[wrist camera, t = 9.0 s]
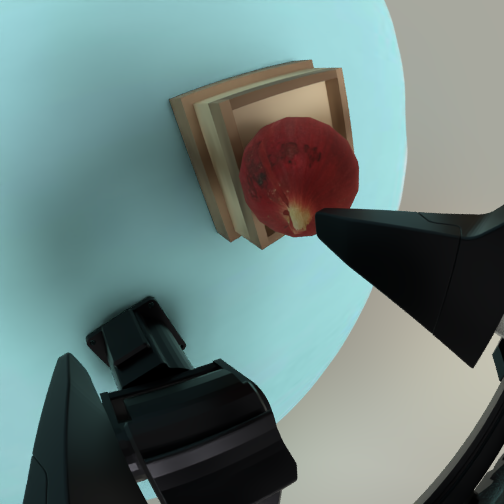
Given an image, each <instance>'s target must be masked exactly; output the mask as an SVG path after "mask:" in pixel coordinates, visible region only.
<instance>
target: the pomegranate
mask: <svg viewBox="0 0 504 504" xmlns="http://www.w3.org/2000/svg"><path fill="white" fill-rule="evenodd" d="M239 179H240V182H241V186H242V190H243V194H244V198H245V202H246V203H247V205H248V206H249V208H250V209H251V210H252V212H253V213H254V215H255V216H256V217H257V219H258V220H259V221H260V222H261V223H263V224H264V225H266V226H268V227H269V228H271V229H272V230H274V231H275V232H278V233H282V234H285V235H288V236H291V237H303V236H313V235H315V234H316V226H315V213H316V212H318V211H319V210H321V209H323V208H347V209H350V207H351V205H352V203H353V201H354V198H355V196H356V194H357V192H358V187H359V165H358V161H357V159H356V157H355V154H354V152H353V150H352V148H351V146H350V144H349V142H348V141H347V140H346V139H345V138H344V137H343V136H341V135H340V134H339V133H338V132H337V131H336V130H334V129H333V128H332V127H331V126H330V125H328V124H326V123H323V122H321V121H318V120H316V119H313V118H311V117H285V118H283V119H280V120H278V121H275V122H273V123H271V124H268V125H266V126H264V127H262V128H261V129H260V130H259V131H258V132H257V133H256V135H255V136H254V137H253V138H252V140H251V141H250V142H249V143H248V144H247V146H246V147H245V149H244V153H243V157H242V162H241V168H240V173H239Z"/></svg>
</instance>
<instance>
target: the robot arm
mask: <svg viewBox="0 0 504 504" xmlns="http://www.w3.org/2000/svg"><path fill="white" fill-rule="evenodd" d="M315 226H316V234H317V236H318V238H319V239H320V240H321V241H322V242H323V243H324V244H325V245H326V246H327V247H328V248H330V249H331V250H332V251H333V252H334V253H335V254H336V255H337V256H338V257H339V258H340V259H341V260H342V261H343V262H344V263H346V264H347V265H348V266H349V267H350V268H351V269H353V270H354V271H355V272H357V273H358V274H359V275H360V276H362V277H363V278H364V279H366V280H367V281H368V282H369V283H371V284H372V285H373V286H374V287H376V288H377V289H378V290H380V291H381V292H382V293H383V294H385V295H386V296H387V297H388V298H389V299H391V300H392V301H393V302H394V303H396V304H397V305H398V306H399V307H400V308H402V309H403V310H404V311H405V312H407V313H408V314H409V315H410V316H412V317H413V318H414V319H415V320H416V321H417V322H419V323H420V324H421V325H422V326H423V327H425V328H426V329H427V330H428V331H429V332H431V333H433V335H434V336H435V337H436V338H437V339H439V340H440V341H441V342H442V343H443V344H444V345H446V346H447V347H448V348H449V349H450V350H451V351H452V352H454V353H455V354H456V355H457V356H458V357H459V358H460V359H462V360H463V361H464V362H465V363H466V364H467V365H468V366H470V367H471V368H474V366H475V365H476V363H477V361H478V360H479V358H480V357H481V355H482V353H483V352H484V350H485V348H486V346H487V345H488V343H489V341H490V339H491V338H492V336H493V334H494V333H496V334H497V335H499V336H501V339H500V341H499V343H498V345H497V347H496V349H495V351H494V353H493V354H492V355H493V359H494V363H495V366H496V370H497V373H498V377H499V381H501V383H500V385H499V387H498V389H497V391H496V393H495V395H494V396H493V398H492V400H491V402H490V403H489V405H488V407H487V409H486V410H485V412H484V413H483V415H482V417H481V418H480V420H479V421H478V423H477V424H476V426H475V428H474V429H473V431H472V432H471V434H470V435H469V437H468V438H467V439H466V441H465V442H464V444H463V445H462V446H461V448H460V449H459V451H458V452H457V453H456V455H455V456H454V457H453V459H452V460H451V461H450V462H449V464H448V465H447V466H446V467H445V469H444V470H443V471H442V472H441V474H440V475H439V476H438V477H437V478H436V480H435V481H434V482H433V483H432V484H431V485H430V486H429V488H428V489H427V490H426V491H425V492H424V493H423V494H422V495H421V496H420V497H419V498H418V500H417V501H416V502H415V503H414V504H504V454H503V455H502V456H501V457H500V459H499V460H498V462H497V463H496V465H495V466H494V469H493V470H491V471H489V472H487V470H488V469H489V467H490V466H491V464H492V463H493V461H494V460H495V458H496V456H497V455H498V453H499V451H500V450H501V448H502V446H503V445H504V205H503V206H501V207H499V208H498V209H496V210H494V211H493V212H490V213H487V214H480V215H475V214H441V213H440V214H439V213H424V212H418V213H417V212H408V211H391V210H371V209H347V208H323V209H321V210H319V211H318V212H316V213H315ZM151 302H152V304H151V305H148V304H149V303H151ZM91 340H94V342H90V341H91ZM86 343H87V345H88V347H89V348H90V349H91V350H92V351H93V352H94V353H95V354H96V355H97V356H98V357H99V358H100V359H101V360H102V361H103V362H104V363H106V364H107V365H108V366H109V367H110V368H111V371H112V374H113V377H114V380H115V382H116V385H117V388H118V391H114V392H110V393H108V392H104V393H100V396H101V400H102V403H101V401H100V398H99V396H98V394H97V392H96V390H95V387H94V385H93V383H92V381H91V378H90V376H89V374H88V372H87V370H86V369H85V368H84V367H83V366H82V365H81V363H80V362H79V361H78V360H77V359H76V358H75V357H74V356H73V355H72V354H71V353H66V354H64V355H62V356H61V357H59V358H58V360H57V363H56V366H55V369H54V372H53V375H52V379H51V382H50V385H49V388H48V392H47V395H46V399H45V402H44V406H43V410H42V413H41V417H40V421H39V425H38V430H37V434H36V438H35V443H34V448H33V453H32V454H33V456H32V458H31V463H30V469H29V474H28V480H27V485H26V489H25V494H24V499H23V504H148V503H147V502H146V500H145V498H144V496H143V494H142V492H141V490H140V488H139V486H138V484H137V482H140V481H144V480H146V479H148V481H149V483H150V484H151V486H152V488H153V490H154V492H155V494H156V496H157V497H158V499H159V500H160V503H161V504H280V498H281V492H282V489H284V488H285V487H287V486H289V485H290V484H292V483H294V482H295V481H296V480H297V465H296V462H295V460H294V459H293V457H292V456H291V454H290V452H289V451H288V449H287V448H286V446H285V444H284V442H283V440H282V438H281V436H280V434H279V431H278V429H277V426H276V422H275V418H274V415H273V412H272V409H271V407H270V404H269V402H268V400H267V398H266V396H265V395H264V393H263V392H262V391H261V389H260V388H259V387H258V386H257V385H256V384H255V383H254V382H252V381H251V380H249V379H248V378H247V377H245V376H244V375H242V374H241V373H239V372H238V371H237V370H235V369H234V368H233V367H231V366H230V365H228V364H227V363H226V362H224V361H223V360H222V359H217V360H214V361H213V363H210V364H207V365H204V366H201V367H198V368H195V369H194V368H193V366H192V365H191V363H190V362H189V360H188V358H187V357H186V355H185V354H184V352H183V351H182V350H184V349H185V347H186V344H185V342H184V341H183V339H182V338H181V336H180V335H179V334H178V332H177V331H176V329H175V328H174V326H173V325H172V324H171V322H170V321H169V319H168V318H167V316H166V315H165V313H164V312H163V310H162V309H161V307H160V306H159V304H158V303H157V301H156V300H155V298H154V297H148V298H146V299H144V300H143V301H141V302H139V303H138V304H136V305H135V306H133V307H132V308H130V309H128V310H126V311H125V312H123V313H122V314H120V315H119V316H117V317H115V318H114V319H112V320H111V321H109V322H108V323H106V324H105V325H103V326H102V327H101V328H99V329H97V330H96V331H94V332H93V333H91V334H90V335H88V336H87V337H86ZM179 345H180V346H179ZM486 472H487V473H486ZM485 473H486V475H485ZM484 475H485V476H484ZM483 476H484V478H483ZM482 478H483V479H482ZM481 479H482V481H481ZM480 481H481V482H480ZM479 482H480V483H479ZM478 483H479V485H478ZM477 485H478V486H477ZM476 486H477V488H476ZM475 488H476V489H475ZM474 489H475V490H474Z"/></svg>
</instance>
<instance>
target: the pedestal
mask: <svg viewBox="0 0 504 504" xmlns="http://www.w3.org/2000/svg"><path fill="white" fill-rule="evenodd" d="M169 101H170V104H171V106H172V109H173V112H174V115H175V118H176V121H177V124H178V126H179V129H180V132H181V135H182V138H183V141H184V143H185V146H186V149H187V152H188V154H189V157H190V160H191V163H192V165H193V168H194V171H195V174H196V176H197V179H198V182H199V185H200V187H201V190H202V193H203V195H204V198H205V201H206V203H207V206H208V209H209V211H210V214H211V217H212V219H213V222H214V225H215V227H216V230H217V232H218V233H219V234H220V235H222V236H223V237H224V238H226V239H227V240H228V241H229V242H232V241H234V240H235V239H237V238H239V237H240V236H243V237H244V238H246V239H247V240H249V241H250V242H251V243H253V244H254V245H256V246H257V247H259V248H260V249H261V250H263V249H264V248H266V247H267V246H269V245H270V244H272V243H274V242H275V241H277V240H278V239H280V238H281V237H283V236H284V235H285V234H282V233H278V232H275V231H274V230H272V229H271V228H269V227H268V226H266V225H264V224H263V223H261V222H260V221H259V220H258V219H257V217H256V216H255V215H254V213H253V212H252V210H251V209H250V208H249V206H248V205H247V203H246V202H245V198H244V194H243V190H242V186H241V182H240V179H239V173H240V168H241V162H242V157H243V153H244V149H245V147H246V146H247V144H248V143H249V142H250V141H251V140H252V138H253V137H254V136H255V135H256V133H257V132H258V131H259V130H260V129H261V128H262V127H264V126H266V125H268V124H271V123H273V122H275V121H278V120H280V119H283V118H285V117H311V118H313V119H316V120H318V121H321V122H323V123H326V124H328V125H330V126H331V127H332V128H333V129H334V130H336V131H337V132H338V133H339V134H340V135H341V136H343V137H344V138H345V139H346V140H347V141H348V142H349V144H350V146H351V148H352V150H353V152H354V148H353V139H352V131H351V123H350V116H349V109H348V102H347V96H346V89H345V83H344V78H343V72H342V68H314V67H313V63H312V60H300V61H292V62H287V63H283V64H278V65H274V66H270V67H266V68H262V69H259V70H255V71H251V72H248V73H244V74H241V75H237V76H234V77H231V78H227V79H224V80H221V81H218V82H215V83H212V84H209V85H206V86H203V87H200V88H198V89H195V90H192V91H189V92H187V93H184V94H181V95H179V96H176V97H174V98H171V99H169Z"/></svg>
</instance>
